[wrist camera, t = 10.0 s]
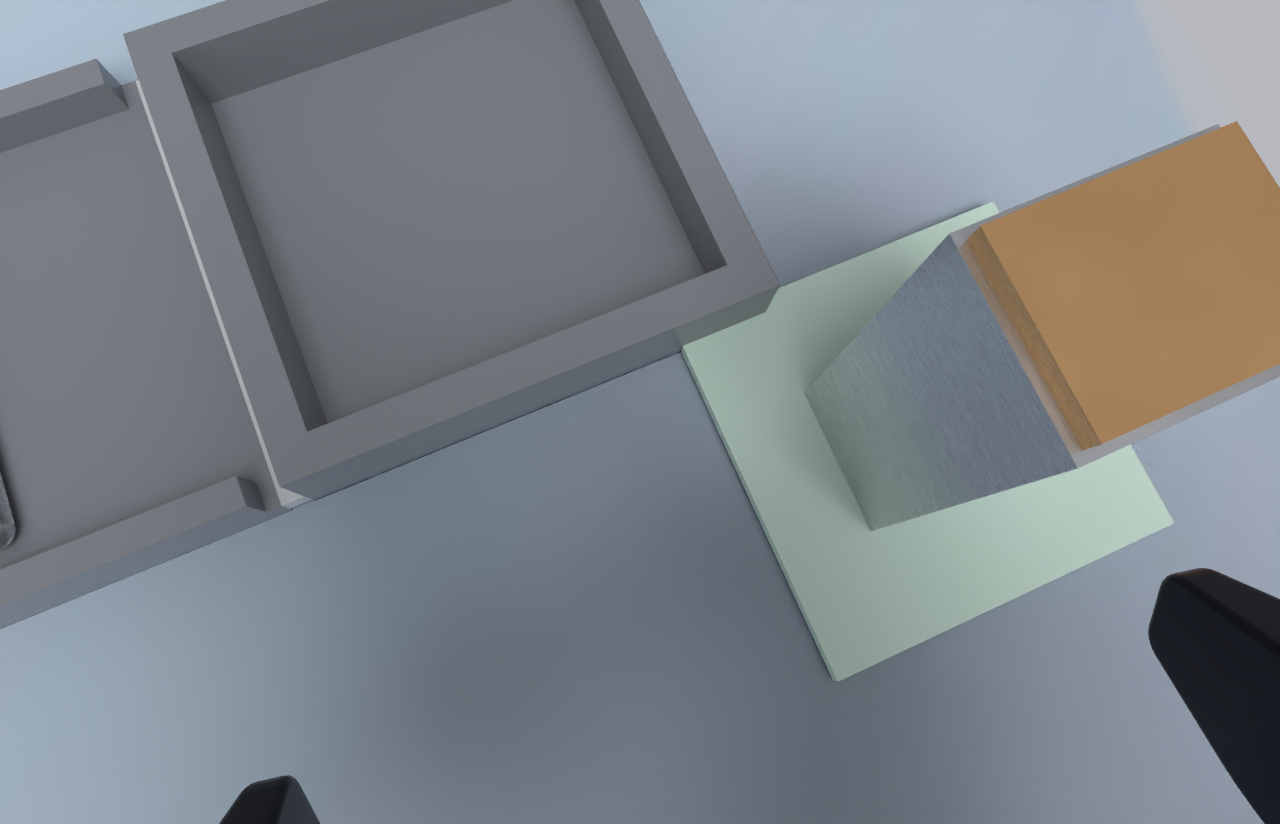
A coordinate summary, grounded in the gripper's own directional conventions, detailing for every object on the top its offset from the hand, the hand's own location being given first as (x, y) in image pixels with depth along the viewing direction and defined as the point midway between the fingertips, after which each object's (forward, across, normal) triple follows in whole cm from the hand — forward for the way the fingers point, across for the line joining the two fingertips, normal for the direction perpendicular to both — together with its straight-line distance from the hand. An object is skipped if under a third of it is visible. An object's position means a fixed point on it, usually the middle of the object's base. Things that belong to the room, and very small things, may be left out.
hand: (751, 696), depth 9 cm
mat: (+12, -8, +6) cm, 16 cm away
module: (+12, -8, +6) cm, 16 cm away
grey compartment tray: (+18, +10, +1) cm, 20 cm away
